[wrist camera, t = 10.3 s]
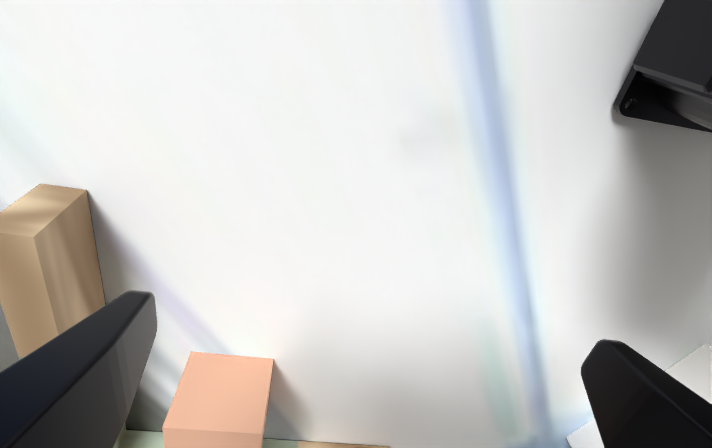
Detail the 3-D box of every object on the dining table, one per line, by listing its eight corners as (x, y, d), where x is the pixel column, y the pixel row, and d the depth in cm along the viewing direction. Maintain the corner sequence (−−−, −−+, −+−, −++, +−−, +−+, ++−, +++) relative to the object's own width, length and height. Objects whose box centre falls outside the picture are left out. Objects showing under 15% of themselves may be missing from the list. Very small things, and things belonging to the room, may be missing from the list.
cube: (273, 357, 26) (261, 434, 22) (267, 407, 29) (255, 483, 24) (191, 350, 25) (162, 427, 21) (192, 401, 28) (167, 479, 24)
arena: (470, 241, 22) (496, 292, 18) (384, 461, 32) (390, 518, 29) (40, 183, 19) (-25, 230, 16) (99, 444, 30) (69, 505, 26)
